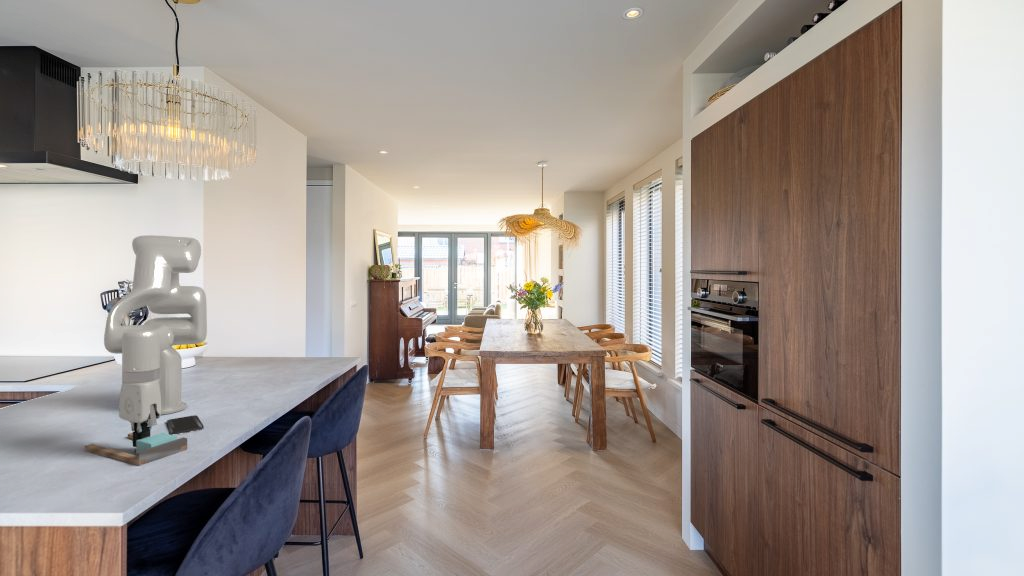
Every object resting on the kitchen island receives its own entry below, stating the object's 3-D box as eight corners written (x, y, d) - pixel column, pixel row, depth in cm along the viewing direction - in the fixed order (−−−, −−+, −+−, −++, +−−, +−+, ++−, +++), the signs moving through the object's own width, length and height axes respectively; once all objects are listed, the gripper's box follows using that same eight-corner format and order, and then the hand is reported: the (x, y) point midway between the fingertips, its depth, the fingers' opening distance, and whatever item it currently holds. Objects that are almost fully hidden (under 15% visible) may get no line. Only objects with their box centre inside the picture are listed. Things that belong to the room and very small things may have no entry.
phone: (196, 414, 142) (204, 426, 131) (196, 418, 142) (204, 430, 131) (165, 420, 137) (171, 432, 126) (166, 423, 137) (171, 436, 126)
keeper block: (136, 455, 112) (136, 440, 112) (162, 447, 117) (162, 432, 117) (151, 459, 110) (151, 443, 110) (176, 451, 115) (176, 436, 115)
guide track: (84, 450, 114) (84, 439, 114) (133, 436, 124) (133, 426, 124) (139, 465, 106) (139, 453, 106) (187, 449, 116) (187, 438, 116)
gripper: (107, 376, 113) (107, 445, 114) (142, 383, 108) (142, 456, 108) (140, 370, 120) (140, 435, 121) (175, 376, 115) (175, 445, 115)
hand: (141, 445), depth 114 cm, fingers closed
